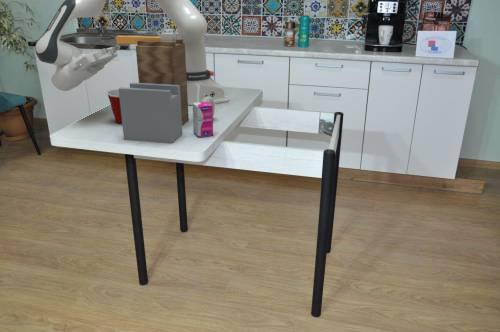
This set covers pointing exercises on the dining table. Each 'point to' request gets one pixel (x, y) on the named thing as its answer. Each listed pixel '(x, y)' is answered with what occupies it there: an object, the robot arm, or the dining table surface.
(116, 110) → the plastic cup
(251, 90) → the dining table surface
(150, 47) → the walnut post
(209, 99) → the donut
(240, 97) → the dining table surface
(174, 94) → the block
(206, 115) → the supplement box
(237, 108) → the dining table surface
